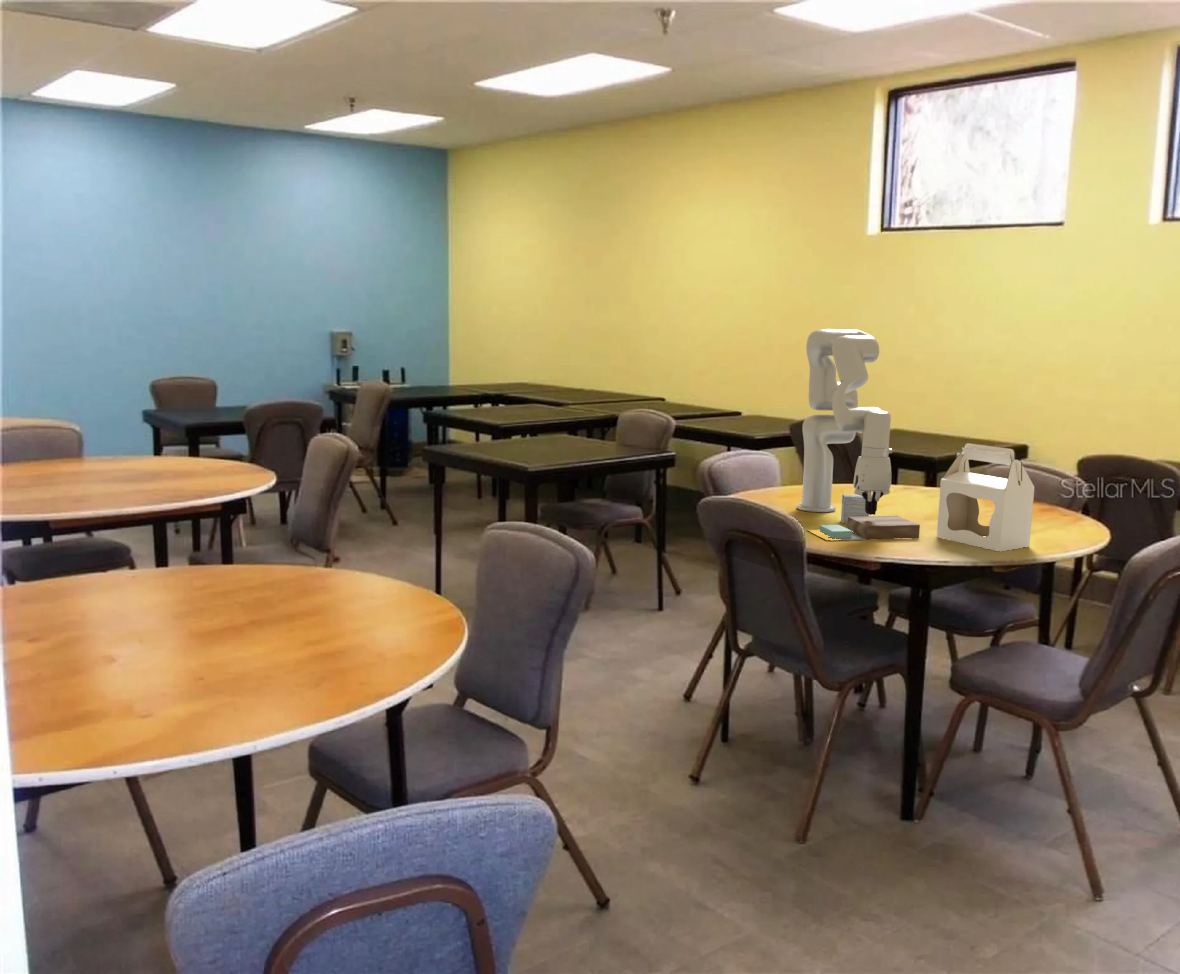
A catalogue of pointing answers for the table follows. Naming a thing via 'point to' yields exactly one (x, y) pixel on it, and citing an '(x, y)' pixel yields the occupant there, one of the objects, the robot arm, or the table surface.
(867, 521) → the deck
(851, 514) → the medicine box
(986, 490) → the gable box
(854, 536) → the mat
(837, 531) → the block
